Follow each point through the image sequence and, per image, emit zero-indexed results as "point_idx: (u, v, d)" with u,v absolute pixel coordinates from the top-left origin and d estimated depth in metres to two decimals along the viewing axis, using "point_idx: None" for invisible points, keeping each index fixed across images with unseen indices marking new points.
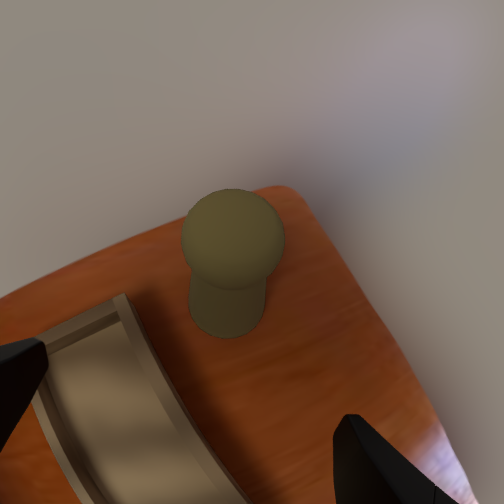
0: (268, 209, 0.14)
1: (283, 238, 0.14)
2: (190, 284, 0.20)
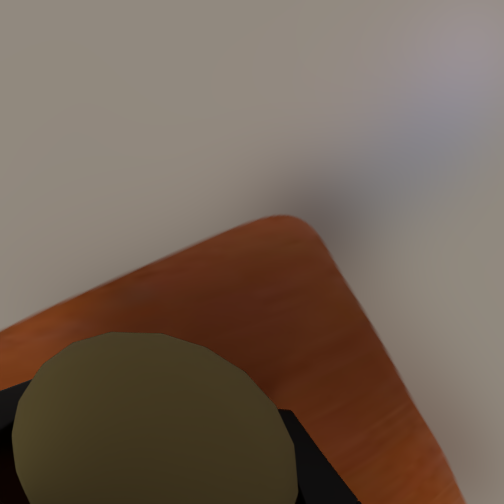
0: (244, 448, 0.03)
1: (293, 502, 0.03)
2: None
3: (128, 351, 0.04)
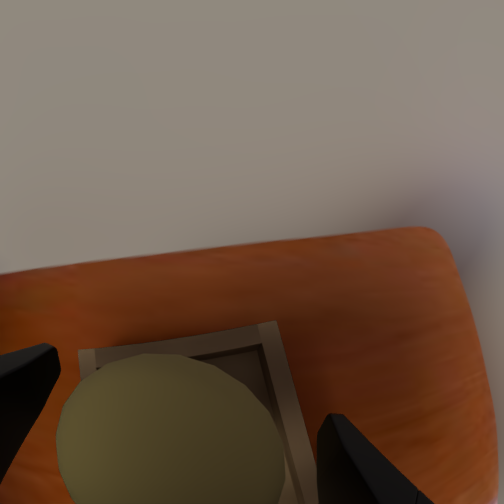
0: (245, 444, 0.04)
1: (281, 487, 0.04)
2: None
3: (157, 373, 0.05)
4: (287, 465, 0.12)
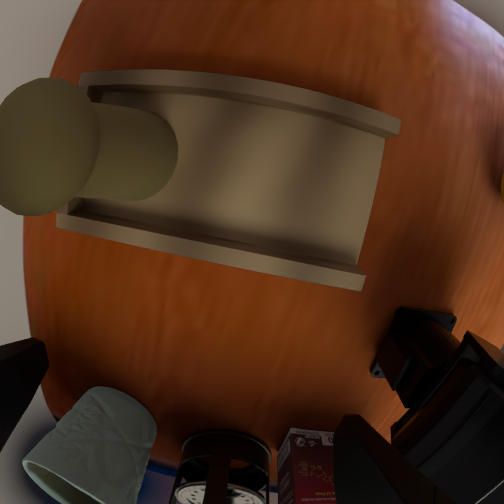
0: (14, 96, 0.06)
1: (53, 81, 0.06)
2: None
3: None
4: (197, 95, 0.16)
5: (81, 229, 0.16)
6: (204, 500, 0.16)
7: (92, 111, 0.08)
